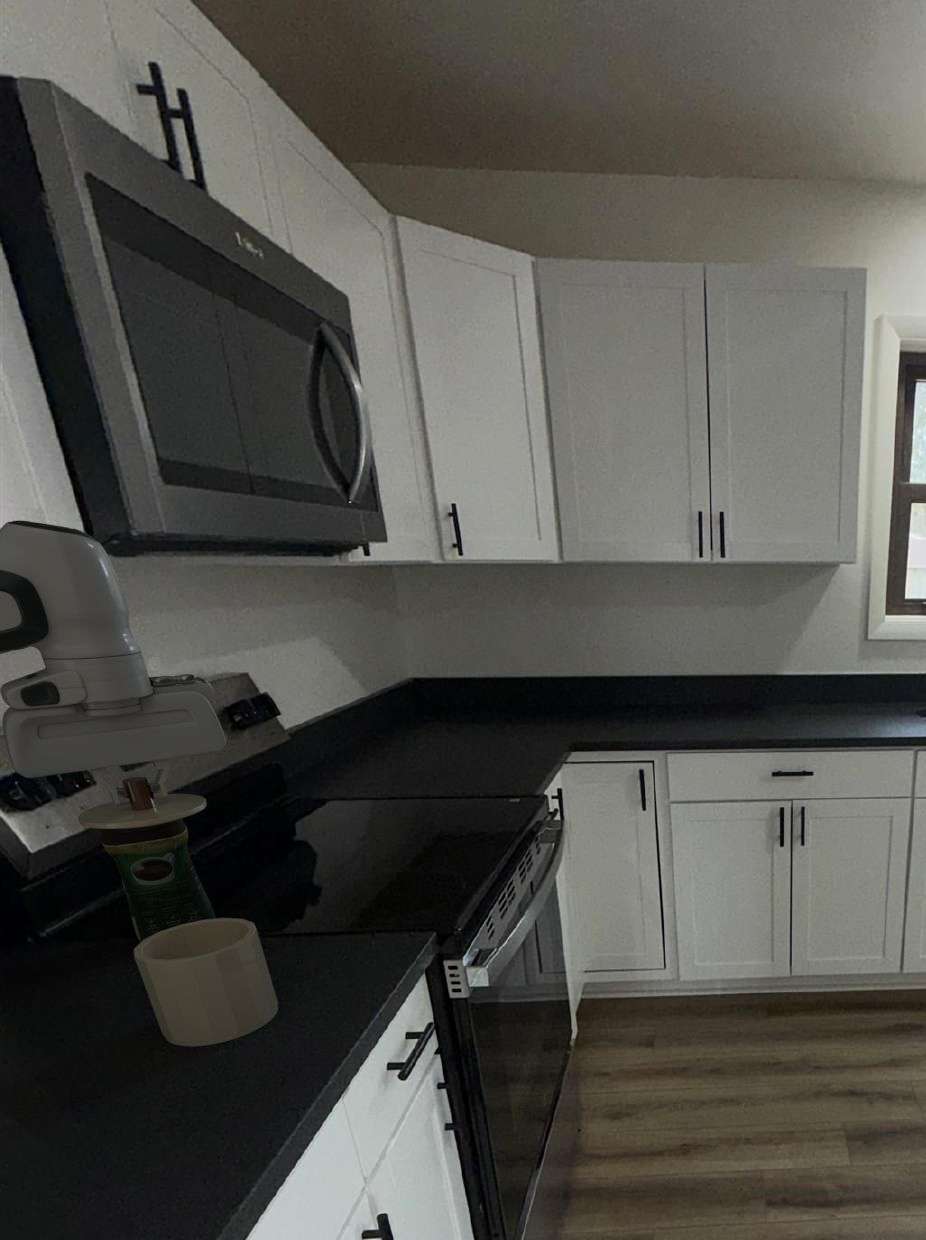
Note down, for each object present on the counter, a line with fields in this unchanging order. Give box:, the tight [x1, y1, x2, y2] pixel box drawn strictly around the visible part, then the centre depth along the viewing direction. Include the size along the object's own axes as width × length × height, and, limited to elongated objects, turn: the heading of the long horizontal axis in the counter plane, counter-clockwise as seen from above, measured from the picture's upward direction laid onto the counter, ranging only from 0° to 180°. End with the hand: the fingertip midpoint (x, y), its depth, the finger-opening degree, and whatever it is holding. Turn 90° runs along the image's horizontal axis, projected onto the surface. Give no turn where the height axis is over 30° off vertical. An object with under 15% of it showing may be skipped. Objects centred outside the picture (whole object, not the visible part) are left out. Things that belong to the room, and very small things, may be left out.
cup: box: [133, 917, 279, 1047], centre depth 96 cm, size 12×12×11 cm
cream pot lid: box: [77, 776, 208, 830], centre depth 99 cm, size 13×13×5 cm
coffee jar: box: [99, 818, 217, 943], centre depth 116 cm, size 10×8×19 cm
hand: (141, 800), depth 99 cm, fingers closed on cream pot lid, 2 cm apart
